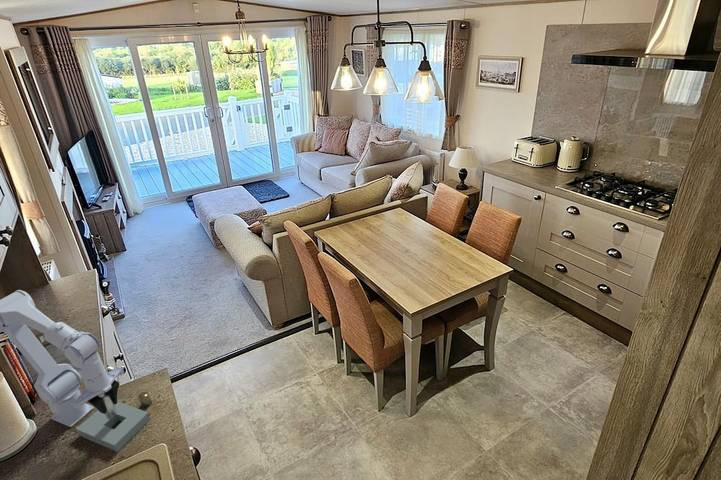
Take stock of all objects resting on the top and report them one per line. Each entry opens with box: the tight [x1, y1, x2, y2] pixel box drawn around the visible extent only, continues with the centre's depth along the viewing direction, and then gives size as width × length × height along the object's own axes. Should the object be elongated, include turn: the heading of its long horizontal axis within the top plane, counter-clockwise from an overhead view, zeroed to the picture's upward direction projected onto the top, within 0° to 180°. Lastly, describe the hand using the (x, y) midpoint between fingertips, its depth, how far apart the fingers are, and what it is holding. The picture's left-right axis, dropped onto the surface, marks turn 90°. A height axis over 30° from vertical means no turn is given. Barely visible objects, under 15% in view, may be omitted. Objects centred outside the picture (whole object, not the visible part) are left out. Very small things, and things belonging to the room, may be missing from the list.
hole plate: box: [75, 400, 152, 453], centre depth 124 cm, size 16×12×3 cm
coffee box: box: [34, 332, 77, 371], centre depth 144 cm, size 9×6×16 cm
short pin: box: [137, 391, 152, 409], centre depth 132 cm, size 3×3×4 cm
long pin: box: [98, 392, 117, 419], centre depth 120 cm, size 3×3×8 cm
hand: (108, 407), depth 121 cm, fingers closed on long pin, 3 cm apart
